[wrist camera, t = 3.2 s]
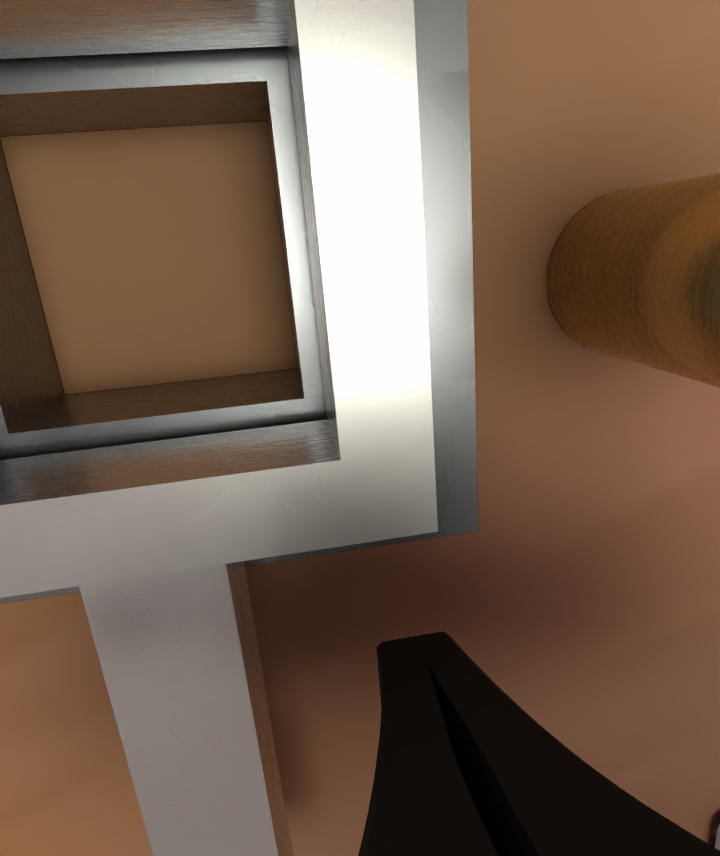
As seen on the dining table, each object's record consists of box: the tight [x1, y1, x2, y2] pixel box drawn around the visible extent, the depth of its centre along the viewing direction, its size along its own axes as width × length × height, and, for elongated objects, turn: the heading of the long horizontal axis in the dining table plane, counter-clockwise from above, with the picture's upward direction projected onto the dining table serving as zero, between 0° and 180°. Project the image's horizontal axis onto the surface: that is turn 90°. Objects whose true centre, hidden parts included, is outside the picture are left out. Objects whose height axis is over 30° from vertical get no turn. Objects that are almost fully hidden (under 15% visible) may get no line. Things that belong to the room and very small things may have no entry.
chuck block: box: [0, 0, 478, 604], centre depth 9 cm, size 10×10×2 cm
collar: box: [0, 0, 438, 856], centre depth 8 cm, size 17×7×2 cm, turn 5°
